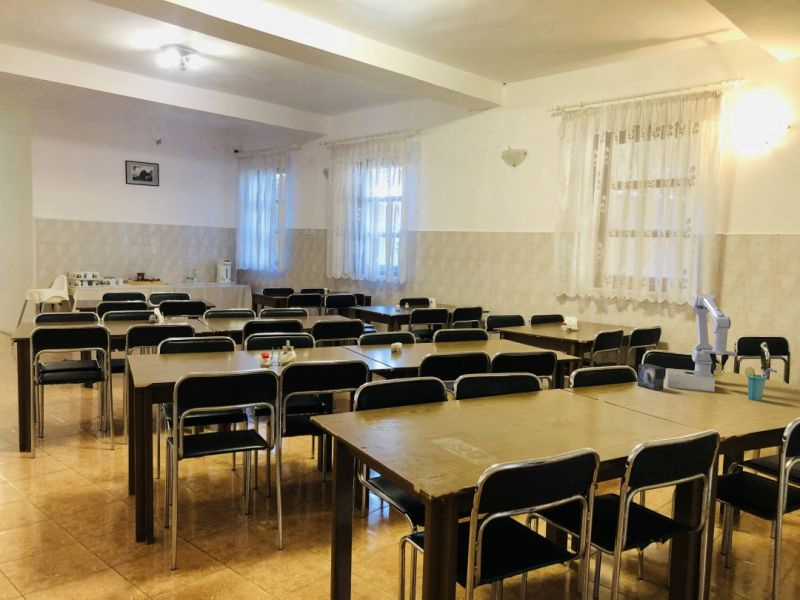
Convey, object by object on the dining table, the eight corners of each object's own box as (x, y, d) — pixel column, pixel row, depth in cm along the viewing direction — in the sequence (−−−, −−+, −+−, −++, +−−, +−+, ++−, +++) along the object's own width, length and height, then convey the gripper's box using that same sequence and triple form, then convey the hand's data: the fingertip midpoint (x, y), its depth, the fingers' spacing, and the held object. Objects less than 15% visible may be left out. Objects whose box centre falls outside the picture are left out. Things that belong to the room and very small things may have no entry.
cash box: (665, 381, 309) (665, 368, 309) (709, 385, 303) (710, 372, 302) (667, 387, 294) (668, 373, 294) (714, 391, 288) (715, 378, 287)
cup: (778, 402, 270) (781, 368, 269) (769, 404, 266) (772, 370, 265) (745, 395, 282) (748, 363, 281) (736, 397, 277) (739, 364, 276)
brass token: (713, 373, 298) (714, 362, 298) (719, 373, 298) (720, 363, 297) (715, 375, 294) (716, 364, 293) (721, 375, 293) (722, 365, 292)
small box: (636, 385, 295) (637, 364, 295) (646, 385, 298) (647, 363, 297) (653, 390, 286) (655, 368, 285) (663, 389, 289) (665, 367, 288)
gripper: (704, 341, 292) (702, 370, 293) (738, 344, 288) (736, 373, 289) (702, 339, 299) (700, 367, 300) (735, 342, 294) (733, 370, 296)
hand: (717, 370), depth 295 cm, fingers closed on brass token, 2 cm apart
